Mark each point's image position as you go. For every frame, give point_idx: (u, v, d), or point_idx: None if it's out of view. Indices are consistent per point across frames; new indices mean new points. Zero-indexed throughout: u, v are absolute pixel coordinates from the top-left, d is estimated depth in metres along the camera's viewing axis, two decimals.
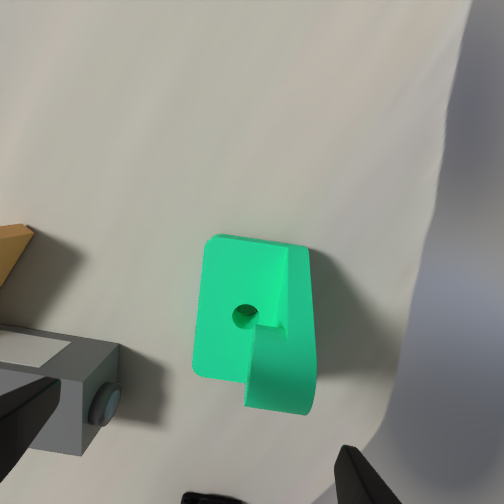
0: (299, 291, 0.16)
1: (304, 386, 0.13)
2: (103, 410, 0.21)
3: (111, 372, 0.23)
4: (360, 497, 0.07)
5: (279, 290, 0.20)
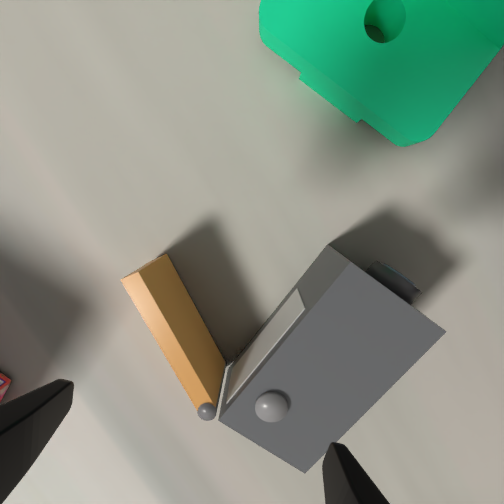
0: None
1: None
2: (400, 276, 0.15)
3: None
4: (346, 494, 0.07)
5: None
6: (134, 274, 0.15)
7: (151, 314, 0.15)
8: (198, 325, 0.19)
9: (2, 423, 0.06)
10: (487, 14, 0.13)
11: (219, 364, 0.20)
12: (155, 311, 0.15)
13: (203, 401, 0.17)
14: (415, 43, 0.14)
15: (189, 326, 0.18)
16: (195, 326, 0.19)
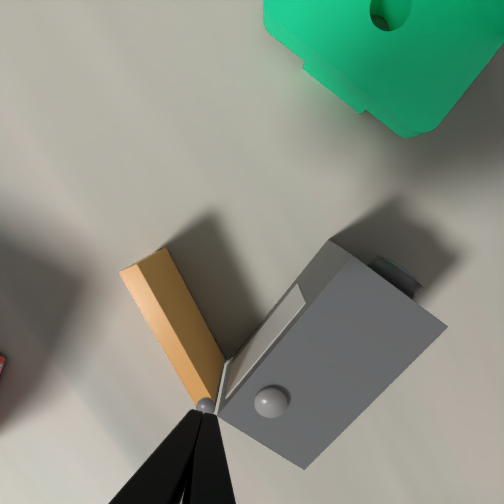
0: None
1: None
2: (402, 271, 0.15)
3: None
4: (191, 459, 0.06)
5: None
6: (133, 266, 0.15)
7: (150, 308, 0.15)
8: (197, 320, 0.19)
9: (177, 463, 0.06)
10: (494, 2, 0.13)
11: (218, 360, 0.20)
12: (154, 304, 0.15)
13: (202, 396, 0.16)
14: (421, 32, 0.14)
15: (188, 321, 0.18)
16: (194, 321, 0.18)
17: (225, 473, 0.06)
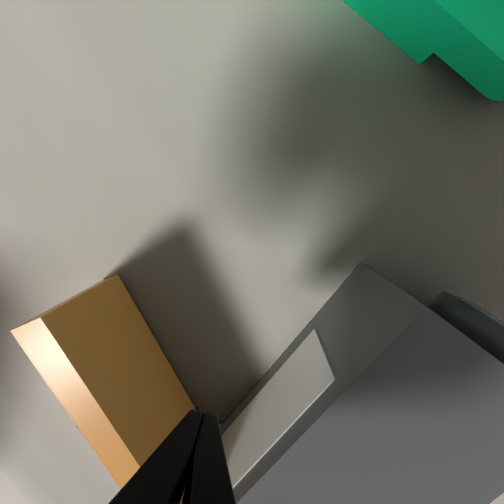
0: None
1: None
2: (501, 326, 0.09)
3: None
4: (191, 459, 0.06)
5: None
6: (34, 322, 0.08)
7: (69, 389, 0.09)
8: (164, 382, 0.13)
9: (177, 463, 0.06)
10: None
11: None
12: (75, 384, 0.09)
13: None
14: None
15: (147, 391, 0.11)
16: (158, 387, 0.12)
17: (225, 472, 0.06)
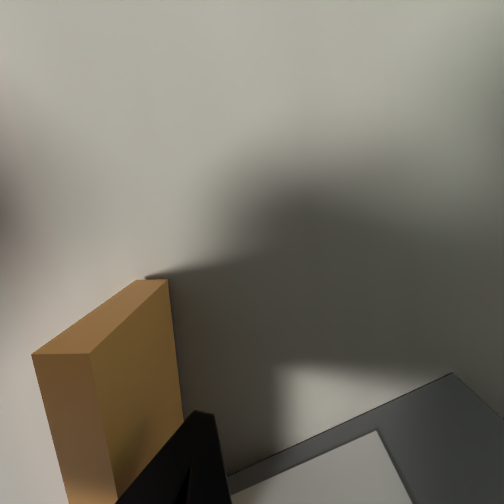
0: None
1: None
2: None
3: None
4: None
5: None
6: (76, 356, 0.05)
7: (82, 458, 0.06)
8: (174, 431, 0.10)
9: (181, 464, 0.06)
10: None
11: None
12: (96, 455, 0.06)
13: None
14: None
15: None
16: None
17: (221, 473, 0.06)
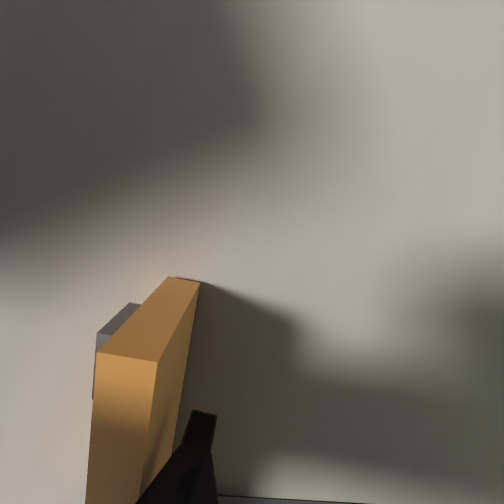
0: None
1: None
2: None
3: None
4: None
5: None
6: (143, 362, 0.05)
7: (115, 460, 0.06)
8: (171, 432, 0.10)
9: (195, 467, 0.06)
10: None
11: None
12: (130, 459, 0.06)
13: None
14: None
15: (162, 452, 0.08)
16: (167, 441, 0.09)
17: (209, 470, 0.06)
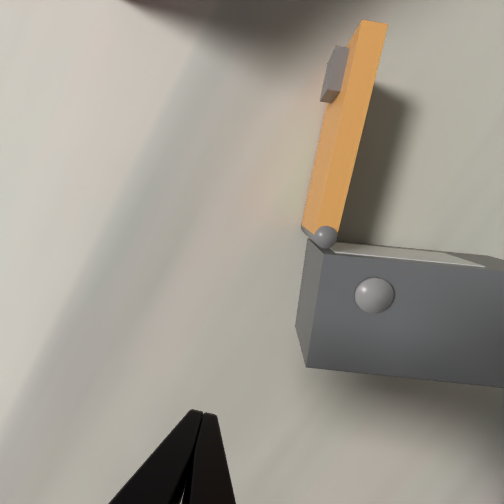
0: None
1: None
2: None
3: None
4: (191, 459, 0.06)
5: None
6: (381, 24, 0.12)
7: (359, 86, 0.12)
8: None
9: (177, 463, 0.06)
10: None
11: None
12: (367, 85, 0.12)
13: (330, 223, 0.14)
14: None
15: None
16: None
17: (225, 473, 0.06)
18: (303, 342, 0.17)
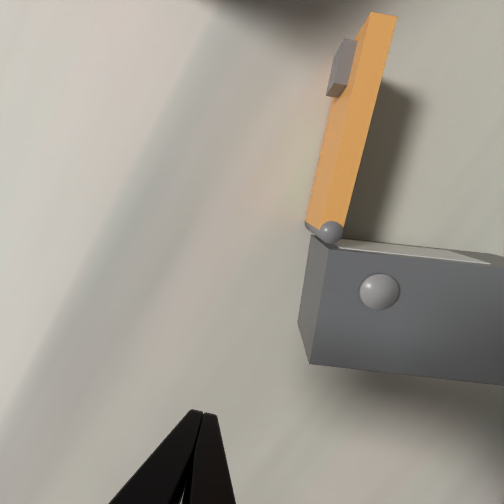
0: None
1: None
2: None
3: None
4: (191, 459, 0.06)
5: None
6: (391, 17, 0.12)
7: (367, 79, 0.12)
8: None
9: (177, 463, 0.06)
10: None
11: None
12: (375, 78, 0.12)
13: (336, 218, 0.14)
14: None
15: None
16: None
17: (225, 473, 0.06)
18: (306, 339, 0.17)
